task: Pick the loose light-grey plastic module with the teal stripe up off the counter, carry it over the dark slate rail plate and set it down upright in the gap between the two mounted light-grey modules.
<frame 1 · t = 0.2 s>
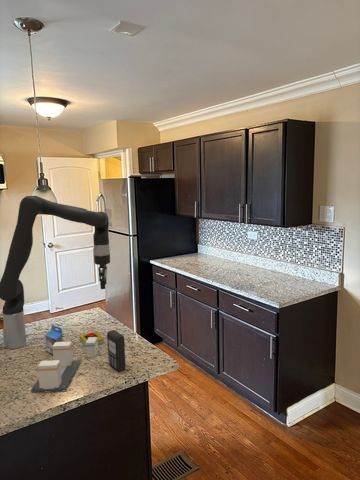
hand: (103, 286, 172), 28 cm above the counter, fingers open, 8 cm apart
module: (92, 354, 164), on the counter
label tape cartridge: (55, 353, 166), on the counter
black card payment terminal: (116, 367, 151), on the counter
mounted modules: (56, 363, 144), on the rail plate, point 6 cm above the counter
emergency button: (92, 343, 177), on the counter
rail plate: (57, 376, 145), on the counter
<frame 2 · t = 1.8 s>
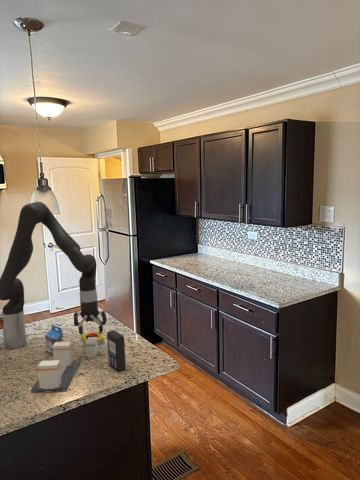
hand: (91, 333, 162), 10 cm above the counter, fingers open, 8 cm apart
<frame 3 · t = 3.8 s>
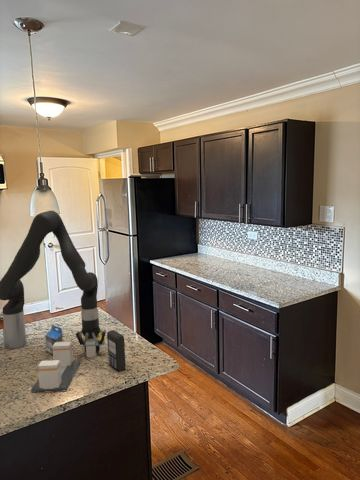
hand: (92, 352, 164), 1 cm above the counter, fingers closed on module, 4 cm apart
module: (92, 354, 164), on the counter, touching gripper
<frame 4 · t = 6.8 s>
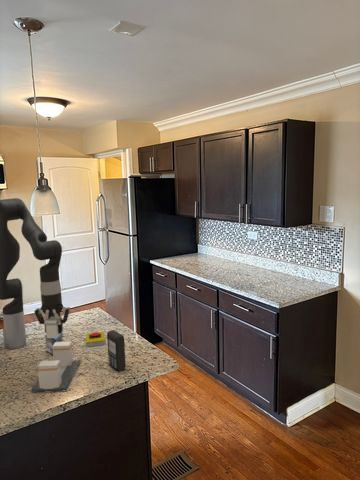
hand: (54, 332, 142), 19 cm above the counter, fingers closed on module, 4 cm apart
module: (54, 334, 142), point 18 cm above the counter, touching gripper
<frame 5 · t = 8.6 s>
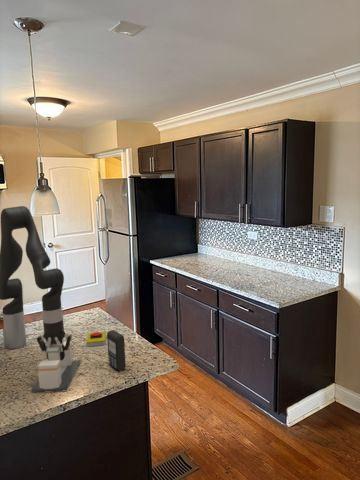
hand: (56, 359, 144), 7 cm above the counter, fingers closed on module, 4 cm apart
module: (56, 361, 144), point 7 cm above the counter, touching gripper
when the fingers open (4 cm above the counter, at t = 10.2 s): module drops 2 cm, resting on rail plate.
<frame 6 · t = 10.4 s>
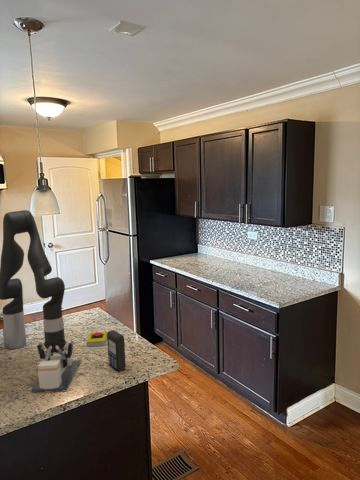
hand: (57, 367, 144), 4 cm above the counter, fingers open, 5 cm apart
module: (57, 373, 145), point 1 cm above the counter, touching rail plate
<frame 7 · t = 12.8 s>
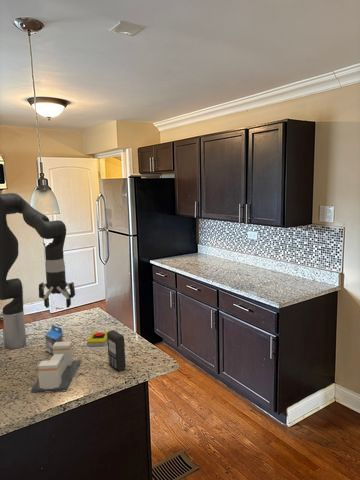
hand: (58, 307, 149), 27 cm above the counter, fingers open, 8 cm apart
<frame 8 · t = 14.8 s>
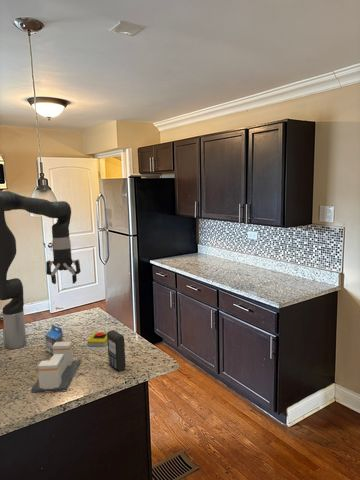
hand: (64, 283, 158), 34 cm above the counter, fingers open, 8 cm apart
at the end: module inside the target area on the rail plate (0.0 cm from its centre), point 1.2 cm above the rail plate's base; module tilted 0°; the gripper is holding nothing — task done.
